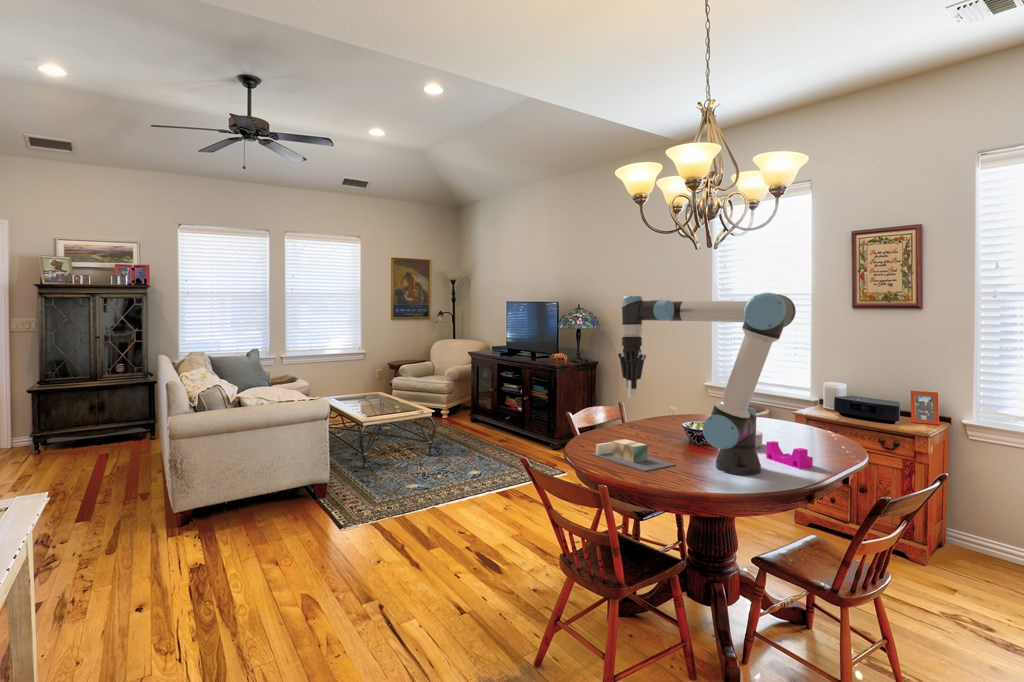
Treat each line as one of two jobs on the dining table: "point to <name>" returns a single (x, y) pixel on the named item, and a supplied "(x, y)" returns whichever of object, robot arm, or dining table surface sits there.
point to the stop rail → (604, 448)
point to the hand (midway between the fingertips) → (631, 397)
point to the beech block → (629, 450)
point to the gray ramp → (642, 465)
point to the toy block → (789, 456)
